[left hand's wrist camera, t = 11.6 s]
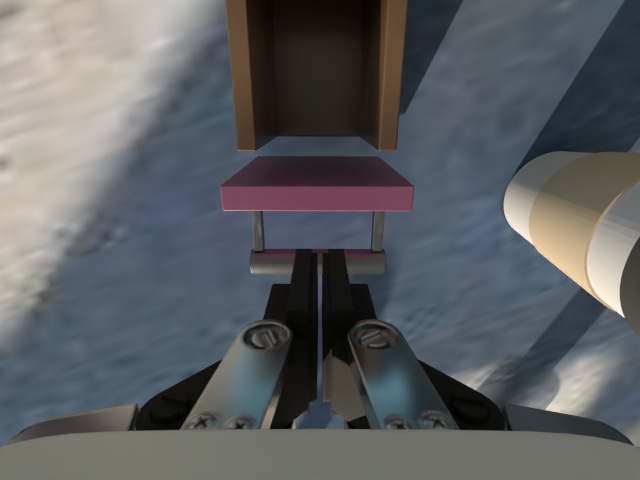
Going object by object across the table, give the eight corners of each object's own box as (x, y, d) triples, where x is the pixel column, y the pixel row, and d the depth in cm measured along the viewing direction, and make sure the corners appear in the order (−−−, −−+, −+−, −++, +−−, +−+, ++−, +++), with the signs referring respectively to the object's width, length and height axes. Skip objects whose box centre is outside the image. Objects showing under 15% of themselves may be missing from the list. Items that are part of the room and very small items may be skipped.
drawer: (373, 240, 27) (402, 309, 18) (262, 240, 27) (232, 309, 18) (397, -139, 19) (472, -381, 10) (238, -140, 19) (160, -381, 10)
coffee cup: (631, 196, 26) (982, 294, 12) (530, 270, 29) (731, 424, 15) (570, 107, 24) (916, 106, 10) (465, 196, 26) (630, 295, 12)
